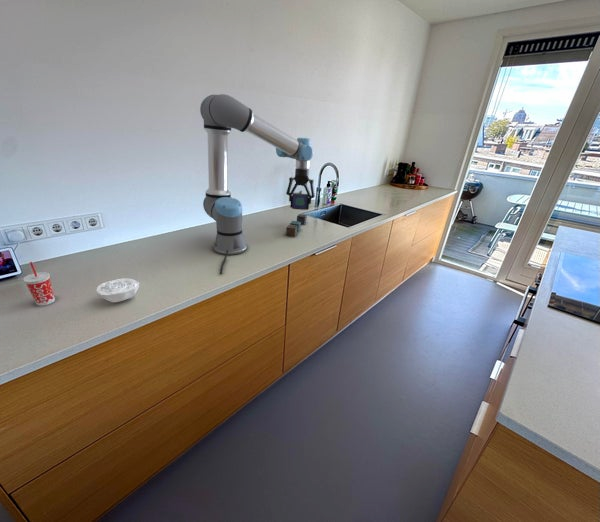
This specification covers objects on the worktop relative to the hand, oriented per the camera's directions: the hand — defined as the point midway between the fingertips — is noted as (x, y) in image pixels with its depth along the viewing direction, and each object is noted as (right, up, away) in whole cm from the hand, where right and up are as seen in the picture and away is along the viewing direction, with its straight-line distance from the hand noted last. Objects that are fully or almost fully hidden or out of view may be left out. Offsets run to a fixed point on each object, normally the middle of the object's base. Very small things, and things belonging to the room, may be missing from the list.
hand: (299, 208), depth 168 cm
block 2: (-5, -16, -8) cm, 19 cm away
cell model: (-59, -44, -72) cm, 103 cm away
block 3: (+1, -7, +12) cm, 14 cm away
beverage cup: (-81, -44, -76) cm, 120 cm away
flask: (0, -1, 0) cm, 1 cm away
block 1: (-3, -13, -2) cm, 14 cm away
